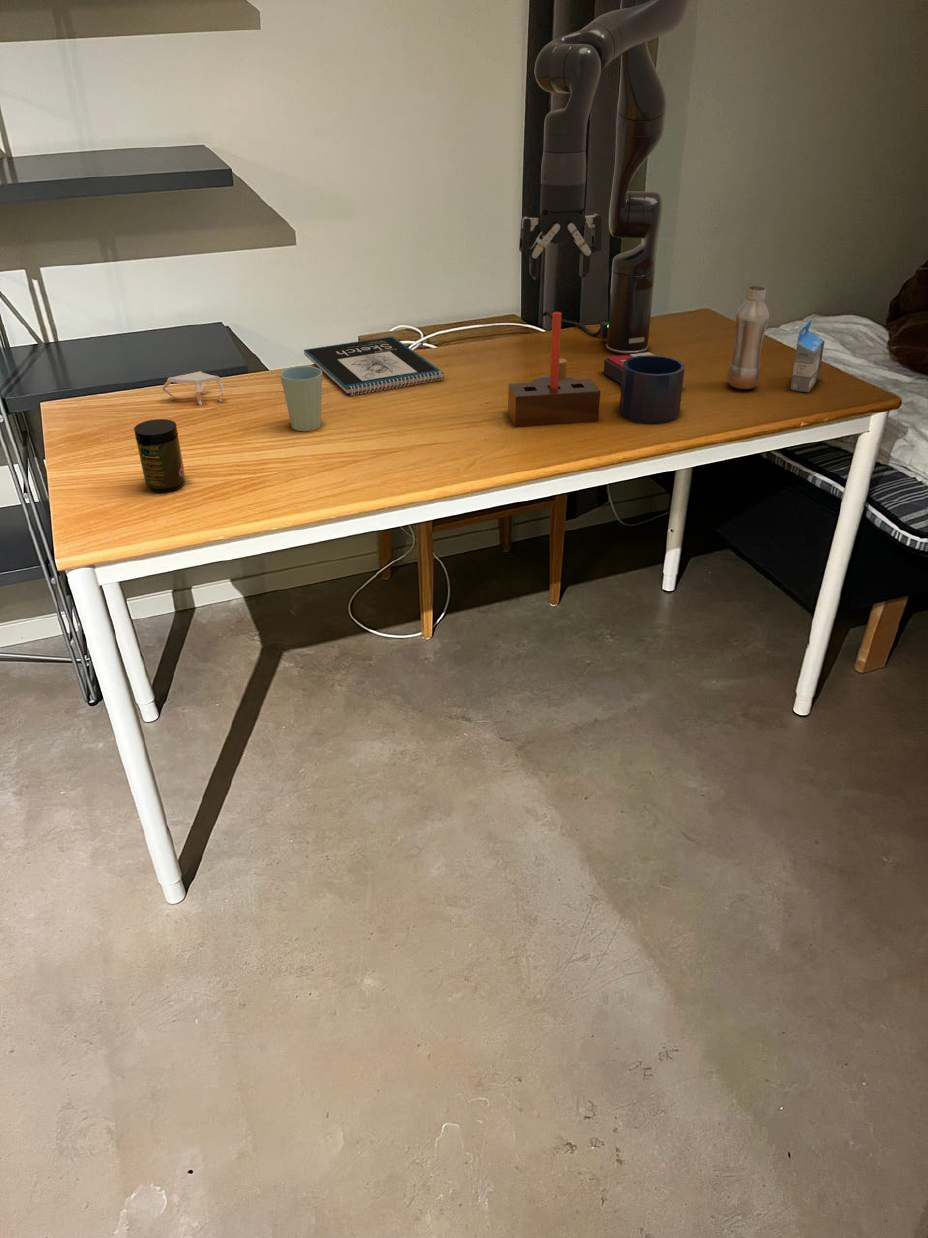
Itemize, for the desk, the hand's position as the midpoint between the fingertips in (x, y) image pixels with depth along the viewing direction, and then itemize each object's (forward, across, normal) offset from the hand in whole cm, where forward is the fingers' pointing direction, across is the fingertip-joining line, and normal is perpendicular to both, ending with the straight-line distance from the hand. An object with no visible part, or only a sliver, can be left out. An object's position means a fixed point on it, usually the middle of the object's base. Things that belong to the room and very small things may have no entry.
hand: (558, 277), depth 177 cm
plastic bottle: (+26, -42, -9) cm, 50 cm away
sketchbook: (+26, +32, -35) cm, 54 cm away
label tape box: (+26, -55, -8) cm, 62 cm away
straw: (+26, 0, 0) cm, 26 cm away
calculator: (+26, -23, -16) cm, 38 cm away
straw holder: (+26, 0, 0) cm, 26 cm away
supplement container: (+27, +71, +18) cm, 78 cm away
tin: (+26, -19, +1) cm, 32 cm away
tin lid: (+26, -4, -13) cm, 29 cm away
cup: (+26, +47, -4) cm, 54 cm away
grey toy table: (+26, +69, -22) cm, 77 cm away
